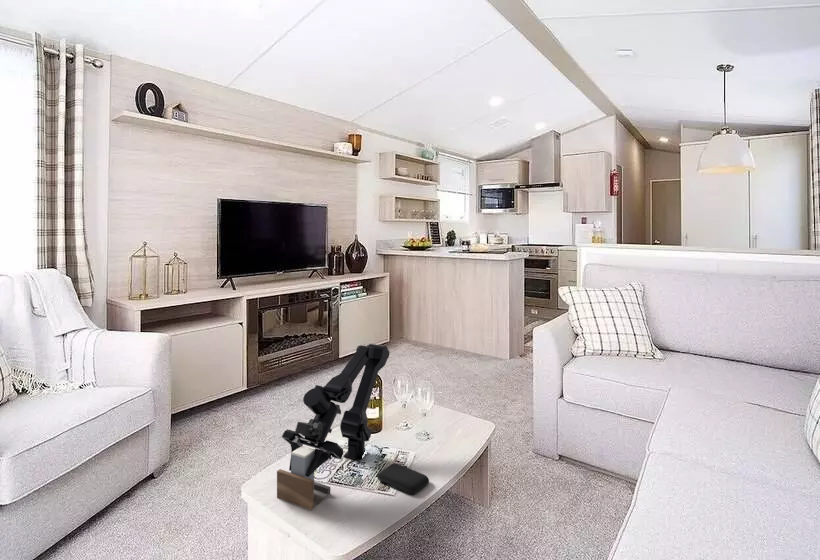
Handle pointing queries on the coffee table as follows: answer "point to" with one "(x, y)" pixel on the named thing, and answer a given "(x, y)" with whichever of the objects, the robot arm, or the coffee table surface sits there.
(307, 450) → the white tall block
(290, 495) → the stand
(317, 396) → the robot arm
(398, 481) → the carrying case or bag
